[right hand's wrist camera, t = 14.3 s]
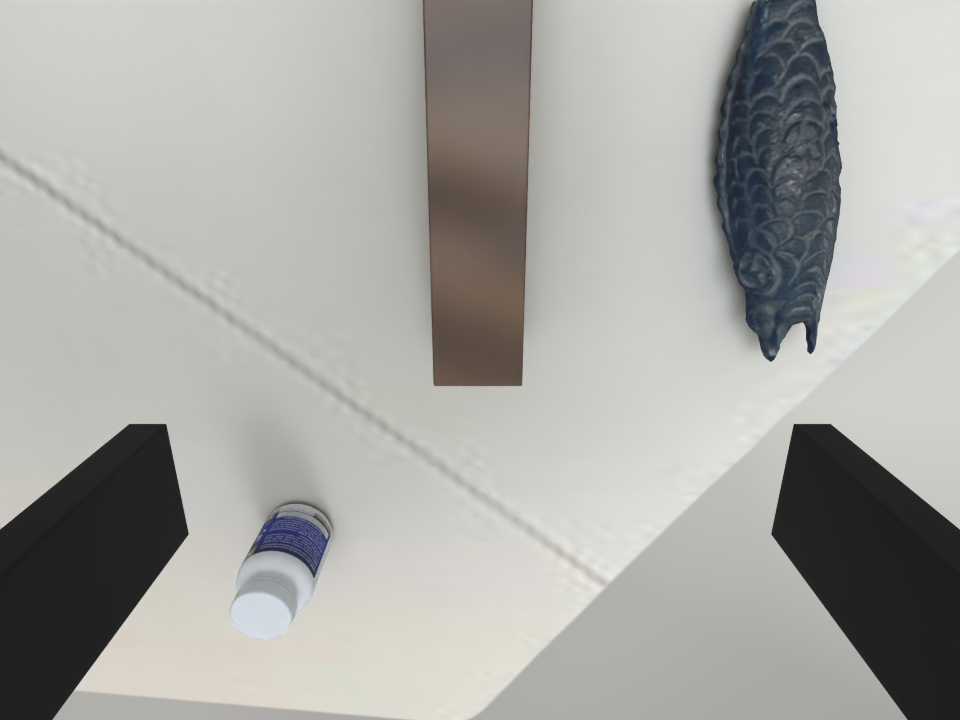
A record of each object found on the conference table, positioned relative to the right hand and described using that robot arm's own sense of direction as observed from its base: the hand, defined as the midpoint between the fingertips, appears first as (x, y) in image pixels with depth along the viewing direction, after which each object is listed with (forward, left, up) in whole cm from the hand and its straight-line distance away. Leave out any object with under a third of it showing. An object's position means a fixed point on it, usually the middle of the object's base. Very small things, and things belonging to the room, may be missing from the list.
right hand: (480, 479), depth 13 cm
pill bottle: (-16, -20, -28) cm, 38 cm away
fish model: (+18, +2, -28) cm, 34 cm away
